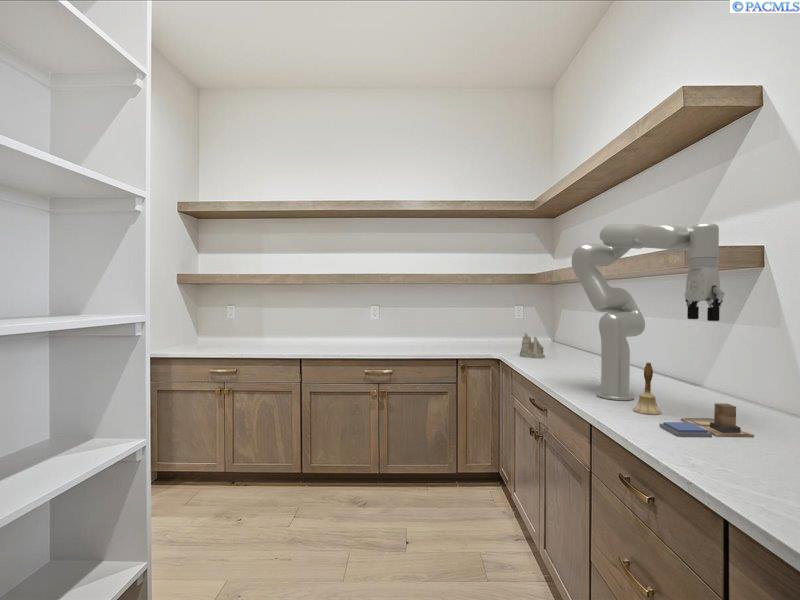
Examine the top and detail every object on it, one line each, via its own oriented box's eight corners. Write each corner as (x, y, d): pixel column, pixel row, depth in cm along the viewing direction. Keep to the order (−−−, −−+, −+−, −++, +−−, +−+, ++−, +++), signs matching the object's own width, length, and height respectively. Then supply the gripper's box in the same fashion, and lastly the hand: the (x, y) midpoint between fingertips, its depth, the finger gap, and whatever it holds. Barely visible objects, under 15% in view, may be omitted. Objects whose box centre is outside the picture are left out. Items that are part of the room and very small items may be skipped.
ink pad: (659, 426, 132) (659, 421, 132) (691, 427, 132) (691, 421, 132) (677, 436, 123) (677, 430, 123) (711, 437, 123) (711, 431, 123)
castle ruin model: (540, 358, 270) (540, 333, 271) (514, 357, 280) (514, 332, 281) (551, 357, 282) (551, 333, 282) (526, 356, 292) (526, 332, 293)
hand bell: (652, 408, 153) (652, 360, 153) (667, 415, 145) (668, 364, 145) (627, 408, 153) (628, 360, 153) (641, 415, 145) (642, 364, 145)
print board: (680, 420, 139) (680, 417, 139) (714, 420, 139) (714, 418, 139) (716, 436, 123) (716, 434, 123) (754, 437, 123) (754, 434, 123)
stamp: (709, 427, 129) (710, 402, 129) (727, 427, 129) (728, 402, 129) (721, 432, 124) (722, 407, 124) (740, 433, 124) (740, 407, 124)
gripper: (675, 266, 150) (674, 318, 150) (709, 262, 133) (708, 321, 133) (698, 266, 150) (697, 318, 150) (736, 262, 133) (735, 321, 133)
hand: (702, 319), depth 141 cm, fingers open, 9 cm apart
